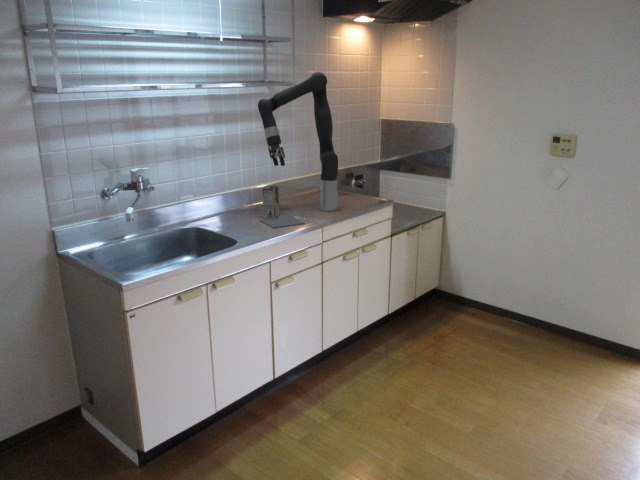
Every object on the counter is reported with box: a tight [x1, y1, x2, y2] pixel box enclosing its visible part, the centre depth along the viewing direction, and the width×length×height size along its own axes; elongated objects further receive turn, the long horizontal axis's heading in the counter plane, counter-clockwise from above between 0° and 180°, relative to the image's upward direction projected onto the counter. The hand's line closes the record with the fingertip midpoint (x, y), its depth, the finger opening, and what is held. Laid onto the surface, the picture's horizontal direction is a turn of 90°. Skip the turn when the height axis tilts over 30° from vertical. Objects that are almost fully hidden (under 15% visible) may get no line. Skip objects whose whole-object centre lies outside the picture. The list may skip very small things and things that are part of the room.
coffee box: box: [262, 185, 280, 219], centre depth 282 cm, size 9×6×16 cm
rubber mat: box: [259, 215, 306, 229], centre depth 272 cm, size 18×16×1 cm
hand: (280, 165), depth 283 cm, fingers open, 8 cm apart
